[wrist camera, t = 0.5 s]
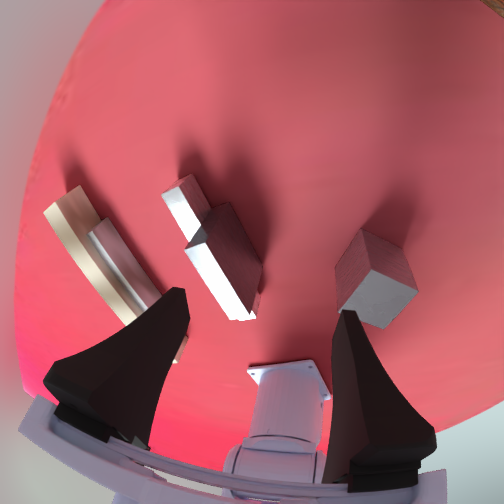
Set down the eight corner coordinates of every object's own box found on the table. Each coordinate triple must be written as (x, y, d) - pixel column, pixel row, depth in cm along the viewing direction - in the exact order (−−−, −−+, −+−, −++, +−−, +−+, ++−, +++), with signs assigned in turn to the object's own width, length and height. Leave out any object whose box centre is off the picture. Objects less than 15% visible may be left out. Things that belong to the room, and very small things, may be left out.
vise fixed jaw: (195, 337, 31) (185, 362, 28) (172, 340, 32) (161, 363, 29) (85, 180, 22) (60, 197, 19) (66, 195, 23) (43, 212, 20)
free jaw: (276, 293, 25) (267, 344, 20) (245, 300, 26) (231, 348, 21) (210, 165, 19) (178, 196, 15) (175, 181, 20) (139, 215, 16)
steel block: (402, 248, 20) (418, 291, 16) (374, 284, 23) (383, 329, 18) (360, 227, 20) (371, 269, 16) (334, 267, 22) (337, 312, 18)
